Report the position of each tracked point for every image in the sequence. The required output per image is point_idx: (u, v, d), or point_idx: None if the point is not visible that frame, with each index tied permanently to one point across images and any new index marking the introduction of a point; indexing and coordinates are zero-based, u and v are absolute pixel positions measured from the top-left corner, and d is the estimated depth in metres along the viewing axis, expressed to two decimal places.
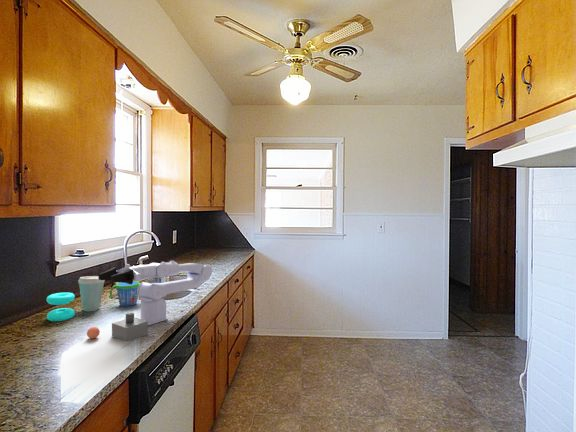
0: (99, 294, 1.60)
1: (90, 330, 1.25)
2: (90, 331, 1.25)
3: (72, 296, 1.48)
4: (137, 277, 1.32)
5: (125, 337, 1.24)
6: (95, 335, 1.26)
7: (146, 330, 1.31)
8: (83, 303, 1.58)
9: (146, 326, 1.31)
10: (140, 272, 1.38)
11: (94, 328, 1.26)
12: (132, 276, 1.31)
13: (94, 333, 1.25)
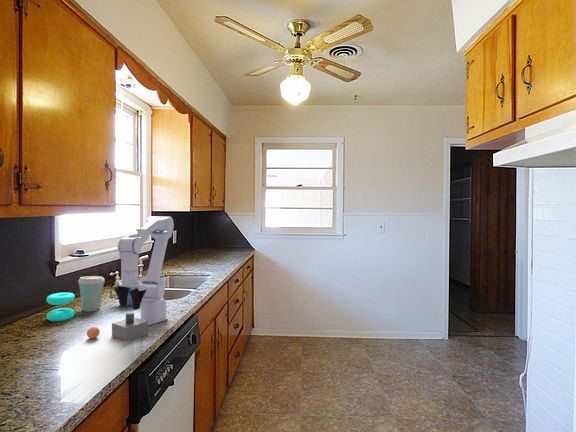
0: (99, 294, 1.60)
1: (90, 330, 1.25)
2: (90, 331, 1.25)
3: (72, 296, 1.48)
4: (143, 288, 1.26)
5: (125, 337, 1.24)
6: (95, 335, 1.26)
7: (146, 330, 1.31)
8: (83, 303, 1.58)
9: (146, 326, 1.31)
10: (133, 274, 1.28)
11: (94, 328, 1.26)
12: (139, 291, 1.26)
13: (94, 333, 1.25)
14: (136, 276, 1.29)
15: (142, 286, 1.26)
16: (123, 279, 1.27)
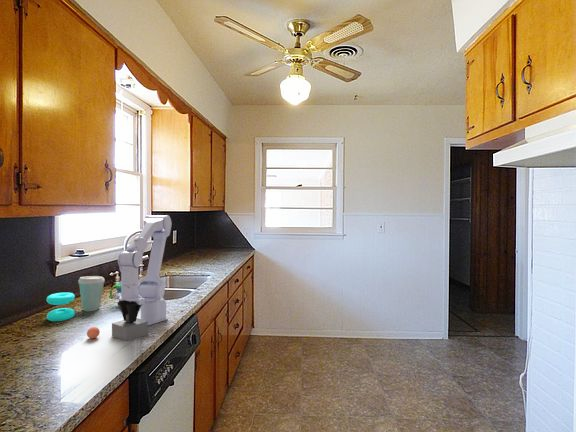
0: (99, 294, 1.60)
1: (90, 330, 1.25)
2: (90, 331, 1.25)
3: (72, 296, 1.48)
4: (143, 302, 1.26)
5: (125, 337, 1.24)
6: (95, 335, 1.26)
7: (146, 330, 1.31)
8: (83, 303, 1.58)
9: (146, 326, 1.31)
10: (133, 288, 1.28)
11: (94, 328, 1.26)
12: (136, 304, 1.28)
13: (94, 333, 1.25)
14: (136, 290, 1.29)
15: (142, 300, 1.26)
16: (123, 293, 1.27)
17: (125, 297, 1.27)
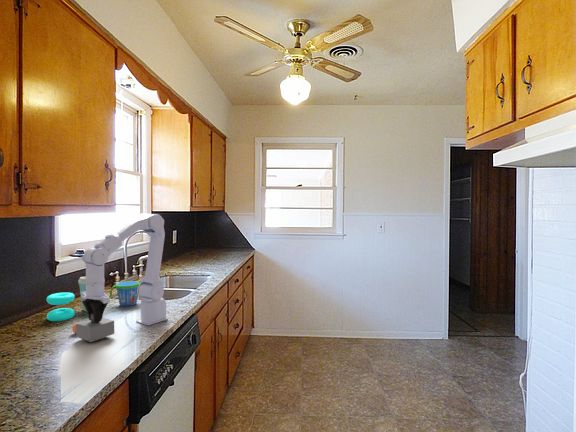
0: None
1: None
2: (75, 332, 1.30)
3: (72, 296, 1.48)
4: (107, 300, 1.22)
5: (90, 338, 1.20)
6: None
7: (113, 330, 1.27)
8: None
9: (112, 326, 1.27)
10: (97, 286, 1.24)
11: None
12: (101, 303, 1.23)
13: None
14: (101, 288, 1.25)
15: (107, 299, 1.22)
16: (87, 291, 1.23)
17: (89, 295, 1.23)
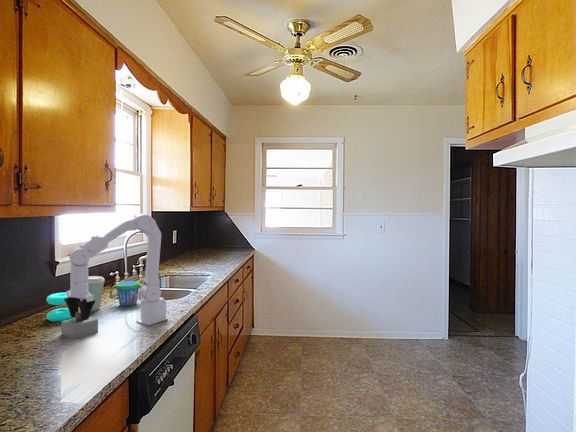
0: (99, 294, 1.60)
1: None
2: None
3: None
4: (91, 299, 1.28)
5: (73, 335, 1.26)
6: None
7: (96, 328, 1.33)
8: None
9: (96, 324, 1.32)
10: (81, 285, 1.29)
11: None
12: (88, 302, 1.28)
13: None
14: (85, 287, 1.30)
15: (90, 297, 1.27)
16: (72, 290, 1.28)
17: (73, 294, 1.28)
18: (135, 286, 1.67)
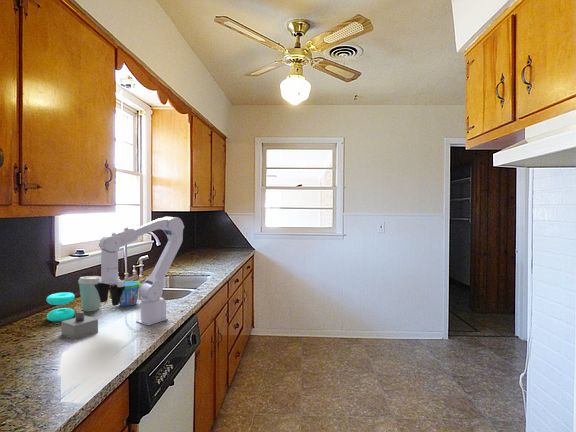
0: None
1: None
2: None
3: (72, 296, 1.48)
4: (121, 284, 1.31)
5: (73, 335, 1.26)
6: None
7: (96, 328, 1.33)
8: (83, 303, 1.58)
9: (96, 324, 1.32)
10: (112, 271, 1.33)
11: None
12: (118, 288, 1.31)
13: None
14: (115, 273, 1.34)
15: (121, 283, 1.31)
16: (103, 276, 1.32)
17: (104, 280, 1.32)
18: (135, 286, 1.67)
